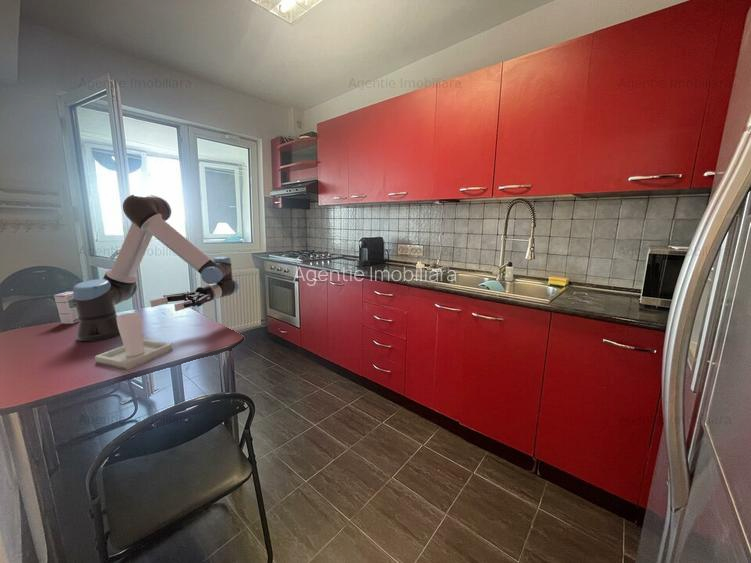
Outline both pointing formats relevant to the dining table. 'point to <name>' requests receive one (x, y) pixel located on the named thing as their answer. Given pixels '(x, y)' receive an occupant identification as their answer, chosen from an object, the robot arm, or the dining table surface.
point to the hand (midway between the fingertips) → (162, 305)
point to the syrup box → (67, 308)
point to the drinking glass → (131, 333)
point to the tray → (125, 362)
